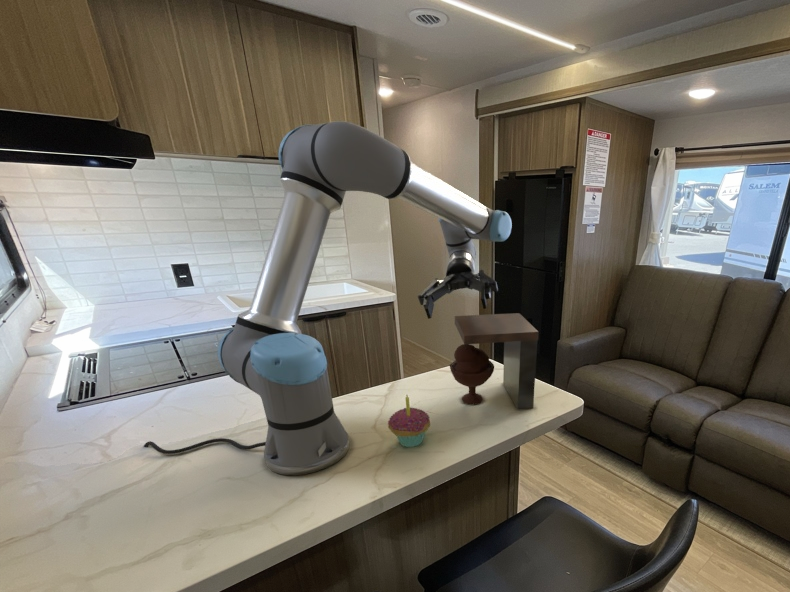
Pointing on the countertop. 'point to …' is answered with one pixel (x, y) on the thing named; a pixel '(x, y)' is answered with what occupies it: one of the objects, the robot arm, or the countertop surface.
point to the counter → (507, 349)
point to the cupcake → (409, 425)
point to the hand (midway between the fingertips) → (455, 308)
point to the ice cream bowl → (471, 370)
